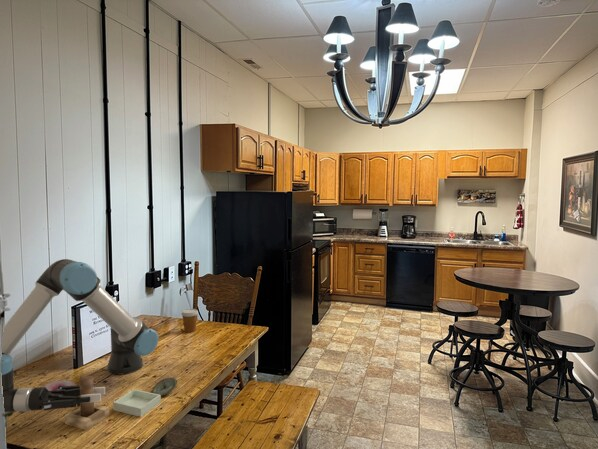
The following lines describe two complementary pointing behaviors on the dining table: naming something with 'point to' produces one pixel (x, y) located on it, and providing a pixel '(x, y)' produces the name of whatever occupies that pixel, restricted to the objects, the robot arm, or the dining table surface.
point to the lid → (164, 386)
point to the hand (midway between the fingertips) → (102, 394)
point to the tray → (137, 402)
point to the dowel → (86, 388)
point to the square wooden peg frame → (86, 423)
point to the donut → (59, 384)
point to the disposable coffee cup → (189, 320)
